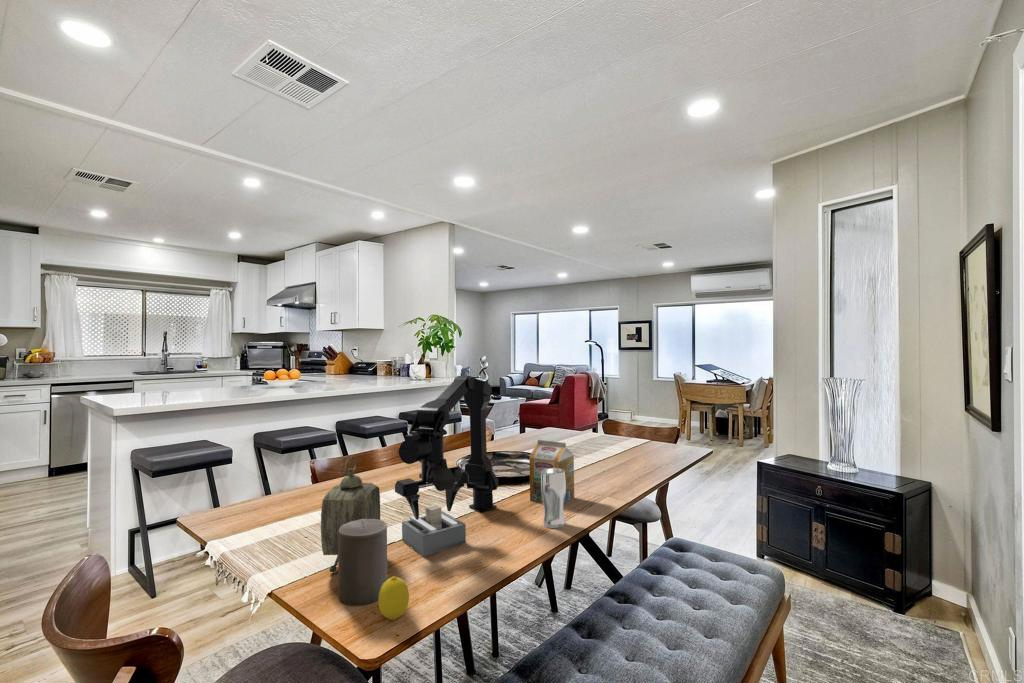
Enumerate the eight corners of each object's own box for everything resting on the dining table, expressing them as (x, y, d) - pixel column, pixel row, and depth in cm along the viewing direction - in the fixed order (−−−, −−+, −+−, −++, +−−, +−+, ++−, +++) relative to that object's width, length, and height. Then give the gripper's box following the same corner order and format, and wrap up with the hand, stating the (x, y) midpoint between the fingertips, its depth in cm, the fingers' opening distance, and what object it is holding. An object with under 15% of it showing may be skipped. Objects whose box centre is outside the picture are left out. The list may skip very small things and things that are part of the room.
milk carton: (530, 501, 152) (529, 442, 152) (546, 492, 160) (545, 436, 160) (558, 507, 146) (557, 446, 146) (574, 497, 154) (573, 439, 154)
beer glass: (565, 529, 128) (564, 474, 128) (540, 528, 129) (539, 473, 129) (567, 520, 135) (566, 468, 135) (543, 518, 136) (542, 467, 136)
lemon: (381, 612, 90) (381, 570, 90) (411, 610, 90) (410, 568, 90) (375, 629, 84) (375, 585, 84) (407, 627, 85) (406, 583, 85)
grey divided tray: (402, 540, 122) (401, 518, 122) (442, 529, 130) (442, 508, 130) (423, 557, 113) (422, 532, 113) (465, 543, 120) (465, 520, 120)
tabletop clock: (346, 548, 118) (345, 449, 118) (382, 548, 118) (380, 449, 118) (321, 577, 103) (319, 464, 104) (362, 577, 103) (360, 464, 103)
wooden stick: (425, 538, 121) (425, 507, 121) (436, 535, 123) (435, 504, 123) (431, 541, 119) (430, 510, 119) (441, 538, 121) (441, 507, 121)
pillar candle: (341, 611, 90) (341, 533, 90) (335, 587, 99) (335, 516, 99) (392, 598, 95) (392, 524, 95) (382, 577, 103) (382, 509, 103)
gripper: (412, 467, 109) (413, 534, 109) (479, 454, 120) (480, 515, 120) (393, 458, 118) (394, 520, 118) (457, 447, 129) (458, 503, 129)
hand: (433, 515), depth 121 cm, fingers open, 9 cm apart
